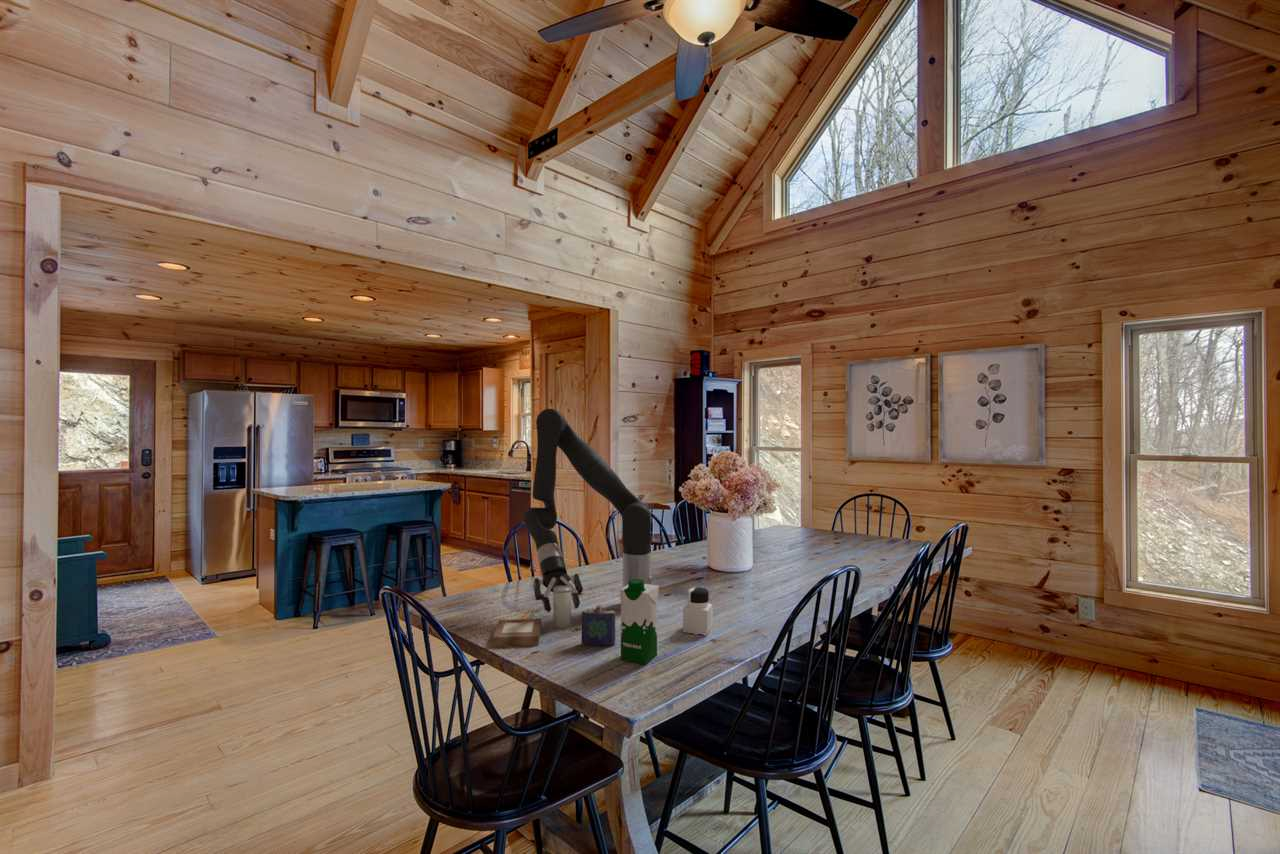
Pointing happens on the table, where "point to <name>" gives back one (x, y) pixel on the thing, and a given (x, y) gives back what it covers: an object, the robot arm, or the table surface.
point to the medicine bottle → (698, 612)
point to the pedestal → (517, 632)
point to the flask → (598, 627)
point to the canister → (562, 607)
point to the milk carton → (638, 621)
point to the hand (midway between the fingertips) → (563, 609)
